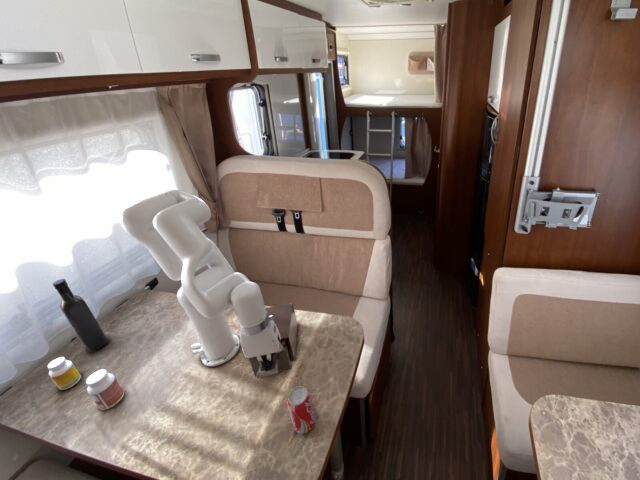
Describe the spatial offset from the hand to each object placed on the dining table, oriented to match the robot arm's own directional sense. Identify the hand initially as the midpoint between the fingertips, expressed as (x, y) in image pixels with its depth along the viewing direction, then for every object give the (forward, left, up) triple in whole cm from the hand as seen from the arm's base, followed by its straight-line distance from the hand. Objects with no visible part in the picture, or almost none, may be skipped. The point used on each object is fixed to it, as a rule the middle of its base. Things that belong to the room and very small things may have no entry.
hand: (269, 366), depth 93 cm
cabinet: (0, +14, -7) cm, 16 cm away
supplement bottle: (-67, +15, -7) cm, 70 cm away
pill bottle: (-49, +5, -7) cm, 50 cm away
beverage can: (+11, -15, -7) cm, 19 cm away
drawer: (0, +7, -6) cm, 10 cm away
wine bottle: (-68, +30, -7) cm, 75 cm away
